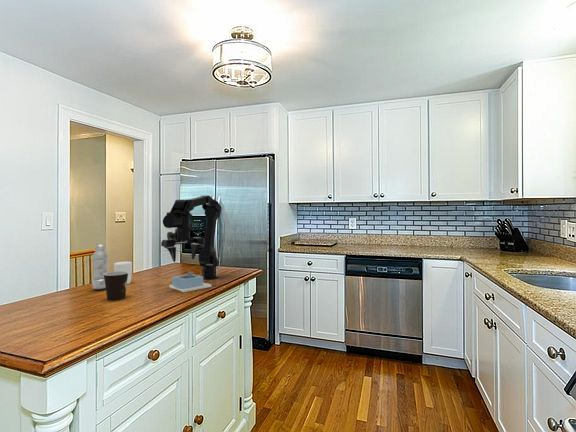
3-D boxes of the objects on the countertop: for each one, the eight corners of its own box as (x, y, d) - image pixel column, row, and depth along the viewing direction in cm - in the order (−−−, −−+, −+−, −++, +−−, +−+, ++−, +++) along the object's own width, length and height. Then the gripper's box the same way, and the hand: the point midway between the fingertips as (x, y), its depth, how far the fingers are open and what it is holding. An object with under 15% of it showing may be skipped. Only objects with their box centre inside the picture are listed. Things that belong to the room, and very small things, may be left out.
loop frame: (192, 282, 151) (192, 273, 151) (203, 285, 144) (203, 276, 144) (172, 285, 144) (172, 276, 144) (182, 289, 137) (182, 280, 137)
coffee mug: (117, 301, 121) (117, 276, 121) (98, 300, 123) (98, 275, 123) (137, 294, 133) (137, 270, 133) (120, 293, 134) (119, 269, 134)
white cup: (126, 285, 148) (126, 264, 148) (110, 285, 149) (110, 264, 148) (135, 281, 156) (135, 261, 156) (119, 281, 156) (119, 261, 156)
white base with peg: (196, 282, 155) (196, 268, 155) (211, 286, 146) (211, 271, 146) (169, 287, 145) (169, 272, 145) (183, 292, 136) (183, 276, 136)
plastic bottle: (112, 287, 144) (112, 243, 144) (102, 291, 137) (102, 245, 137) (99, 287, 145) (99, 243, 144) (88, 290, 138) (88, 245, 138)
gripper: (192, 225, 157) (192, 256, 157) (155, 227, 143) (155, 261, 144) (204, 226, 149) (205, 258, 150) (166, 228, 136) (167, 264, 136)
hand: (183, 260), depth 145 cm, fingers open, 9 cm apart
